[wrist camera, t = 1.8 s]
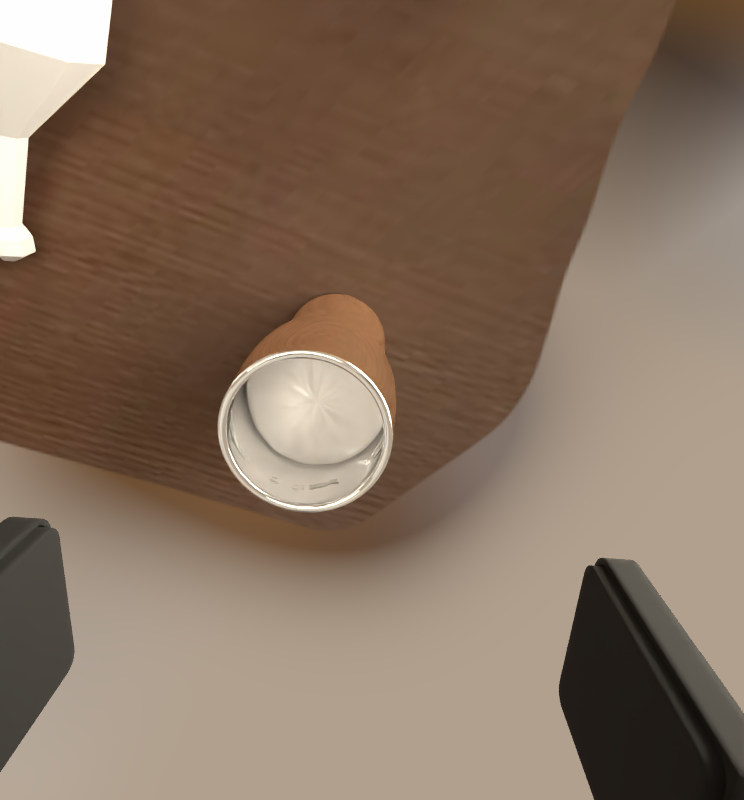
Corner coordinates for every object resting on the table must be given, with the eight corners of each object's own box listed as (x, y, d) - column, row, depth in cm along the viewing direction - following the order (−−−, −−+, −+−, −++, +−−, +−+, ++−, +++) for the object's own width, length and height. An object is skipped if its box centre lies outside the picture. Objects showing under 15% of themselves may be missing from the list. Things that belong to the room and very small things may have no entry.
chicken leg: (-72, 214, 34) (-124, 274, 27) (-77, -172, 25) (-156, -214, 19) (83, 250, 37) (68, 311, 31) (127, -74, 29) (118, -81, 22)
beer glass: (399, 293, 34) (411, 357, 20) (384, 401, 36) (385, 528, 22) (284, 279, 34) (213, 332, 20) (277, 388, 36) (208, 507, 22)
